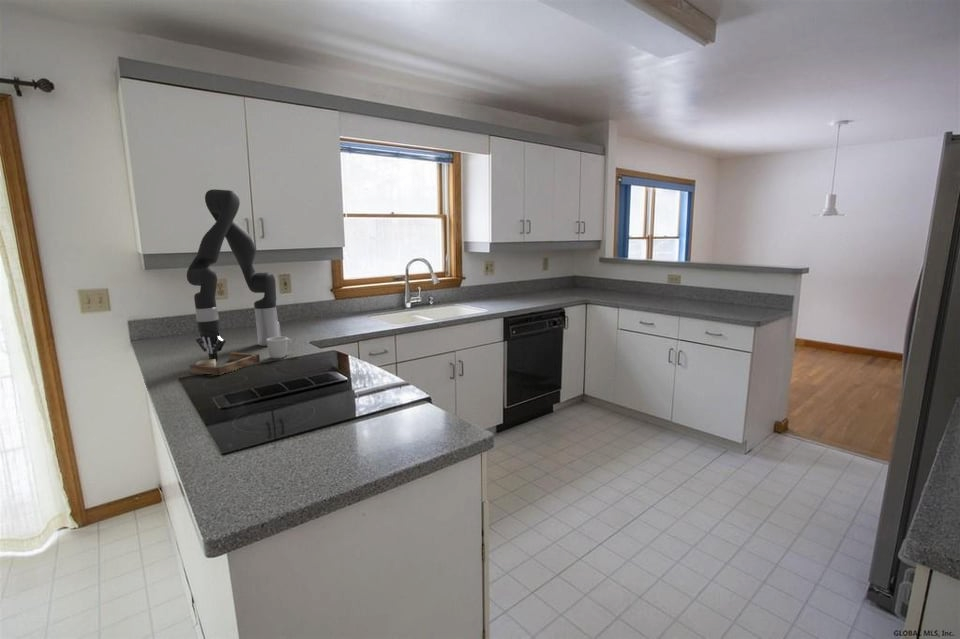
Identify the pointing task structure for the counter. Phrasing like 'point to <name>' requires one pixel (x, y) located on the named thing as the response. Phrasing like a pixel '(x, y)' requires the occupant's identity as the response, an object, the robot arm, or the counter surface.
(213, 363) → the maple tile
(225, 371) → the wooden u-shaped bracket
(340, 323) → the counter surface
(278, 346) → the cup
